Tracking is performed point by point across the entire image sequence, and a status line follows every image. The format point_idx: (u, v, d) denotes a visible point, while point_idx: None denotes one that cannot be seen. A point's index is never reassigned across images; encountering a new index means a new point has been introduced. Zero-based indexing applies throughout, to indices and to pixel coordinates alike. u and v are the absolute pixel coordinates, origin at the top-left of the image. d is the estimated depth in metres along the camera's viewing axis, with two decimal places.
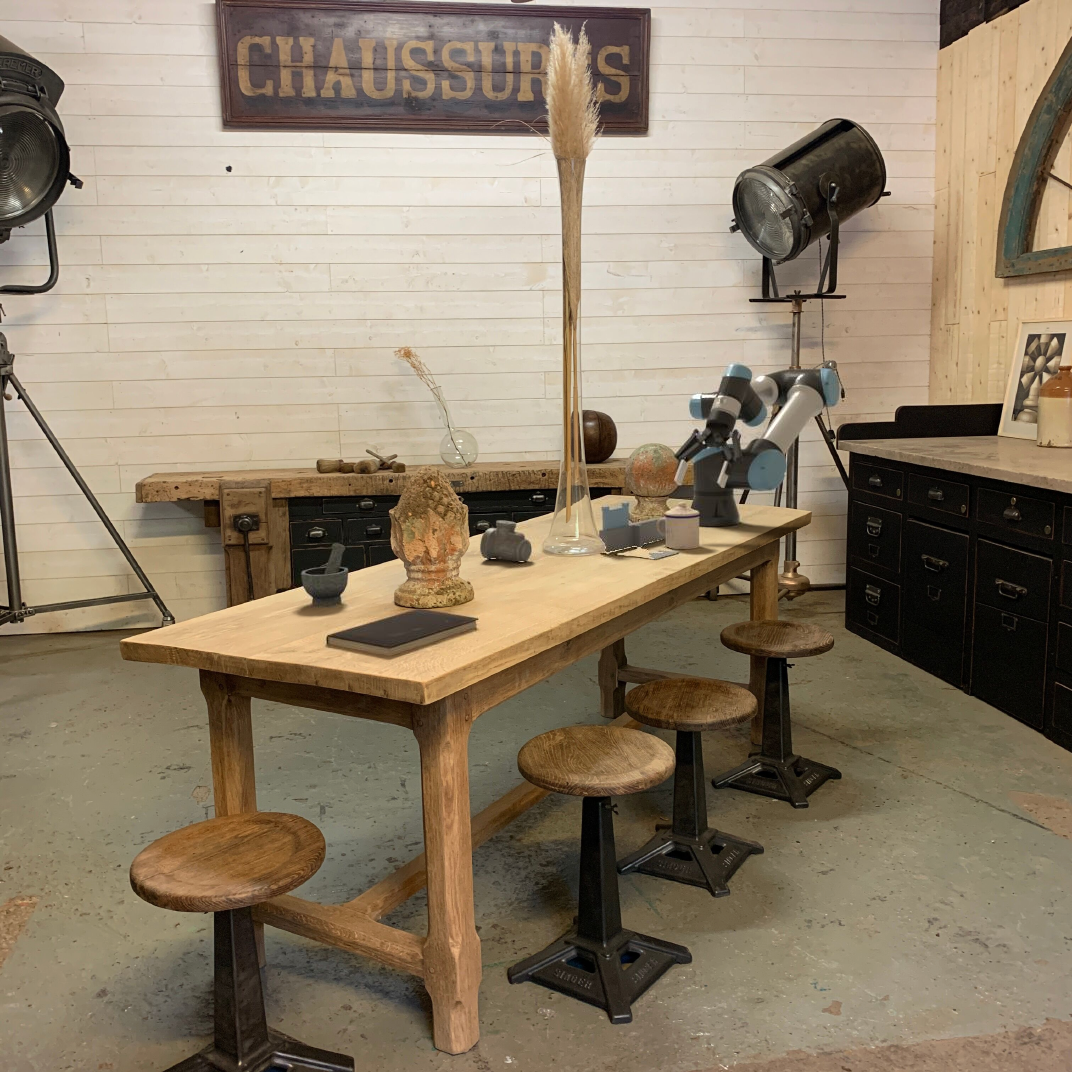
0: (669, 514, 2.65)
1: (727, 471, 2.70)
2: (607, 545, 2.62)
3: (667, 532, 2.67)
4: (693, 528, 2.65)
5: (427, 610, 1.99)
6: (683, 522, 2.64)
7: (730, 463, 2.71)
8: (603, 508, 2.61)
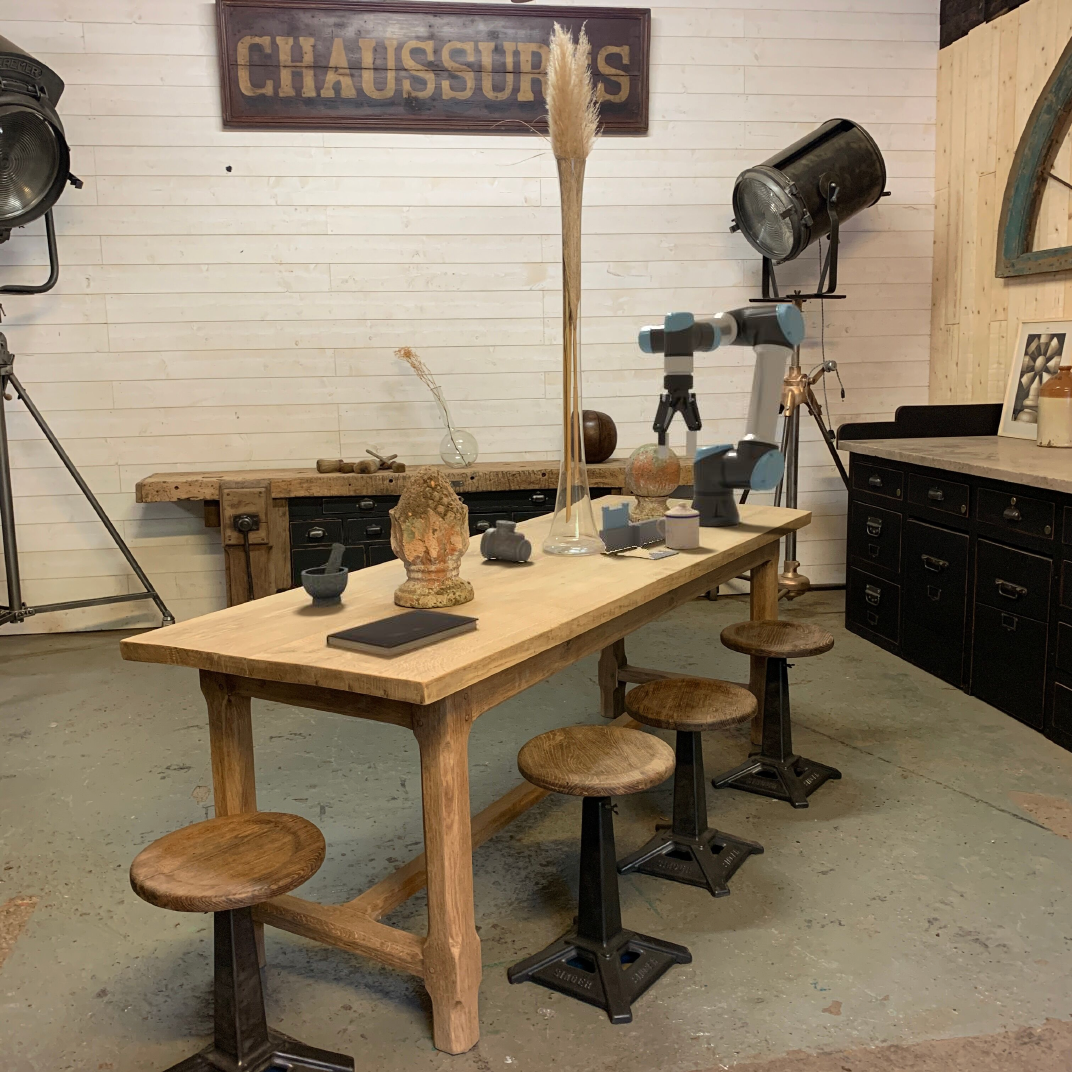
0: (669, 514, 2.65)
1: None
2: (607, 545, 2.62)
3: (667, 532, 2.67)
4: (693, 528, 2.65)
5: (427, 610, 1.99)
6: (683, 522, 2.64)
7: None
8: (603, 508, 2.61)
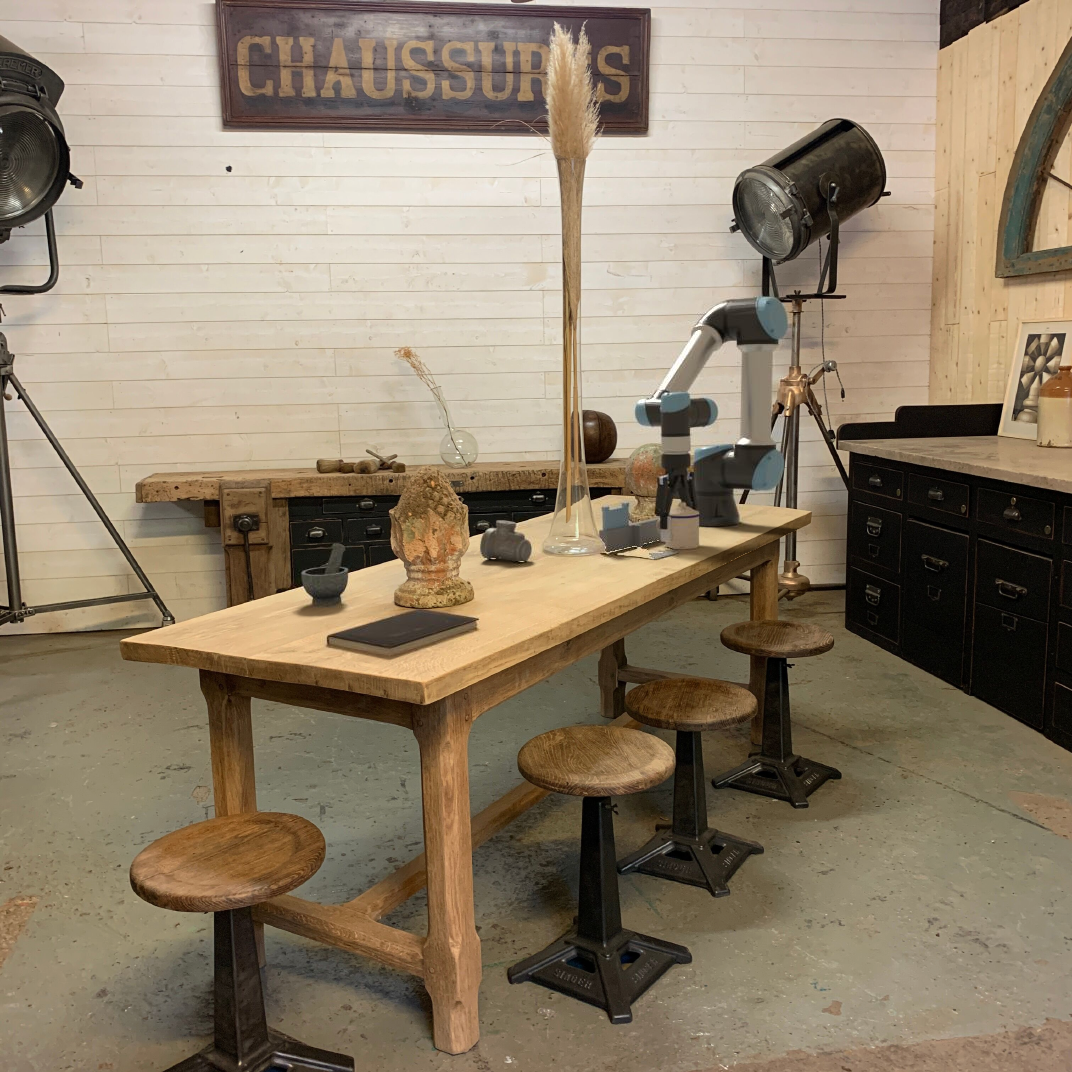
0: (669, 514, 2.65)
1: None
2: (607, 545, 2.62)
3: None
4: (693, 528, 2.65)
5: (428, 610, 1.99)
6: (683, 522, 2.64)
7: None
8: (603, 508, 2.61)
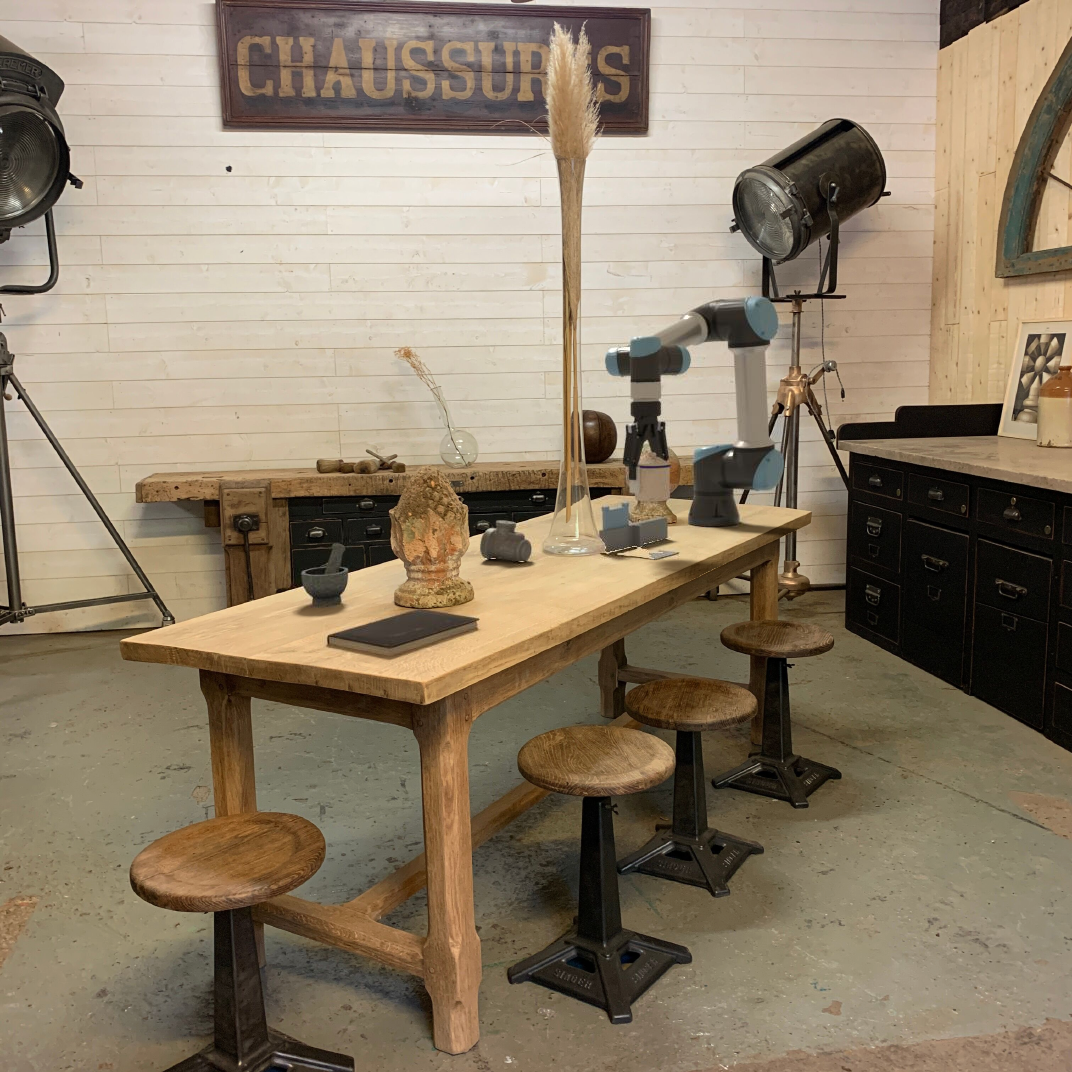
0: (638, 464, 2.53)
1: None
2: (607, 545, 2.62)
3: None
4: (663, 479, 2.53)
5: (428, 610, 1.99)
6: (652, 472, 2.52)
7: None
8: (603, 508, 2.61)
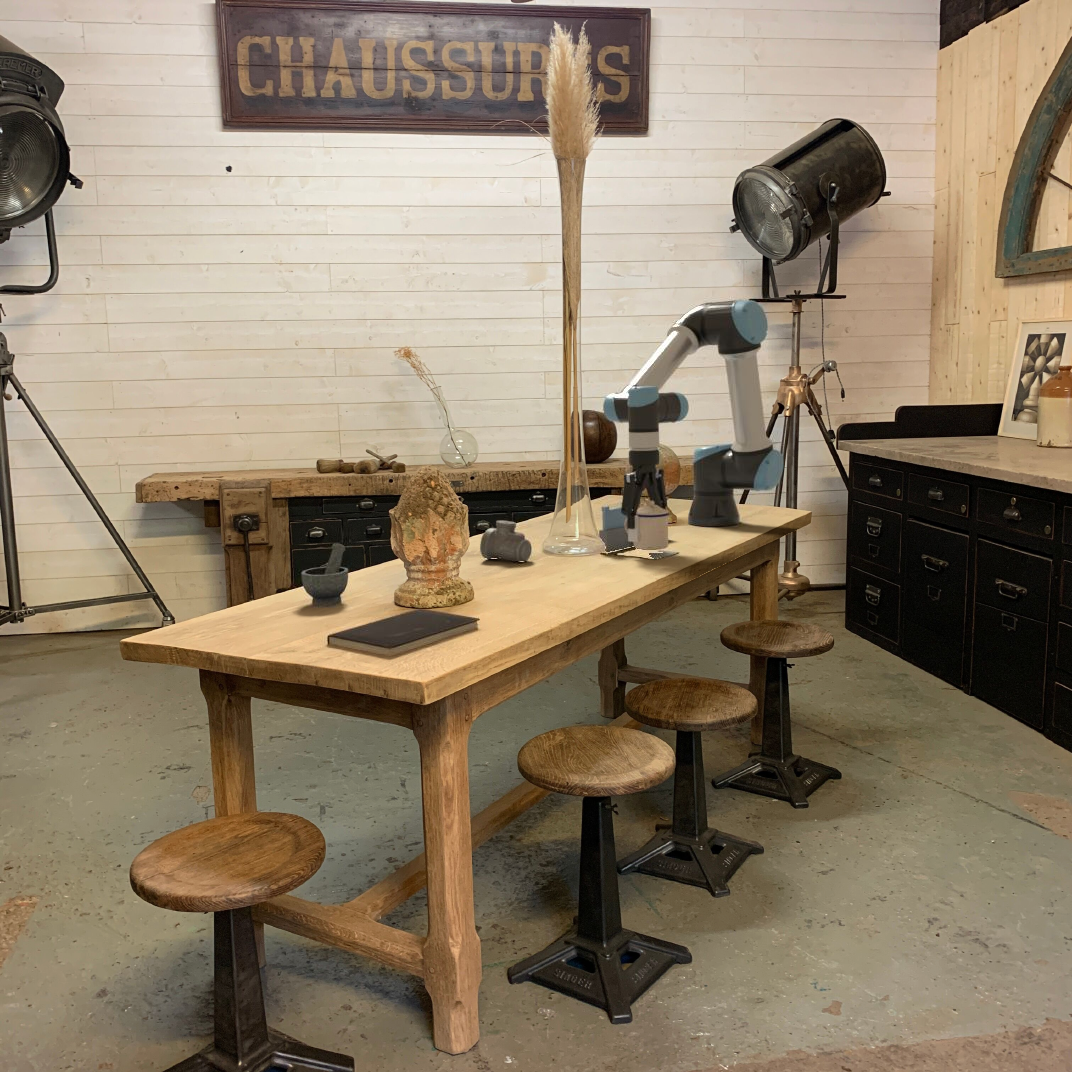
0: (636, 513, 2.55)
1: None
2: (607, 545, 2.62)
3: None
4: (662, 528, 2.54)
5: (428, 610, 1.99)
6: (651, 521, 2.53)
7: None
8: (603, 508, 2.61)
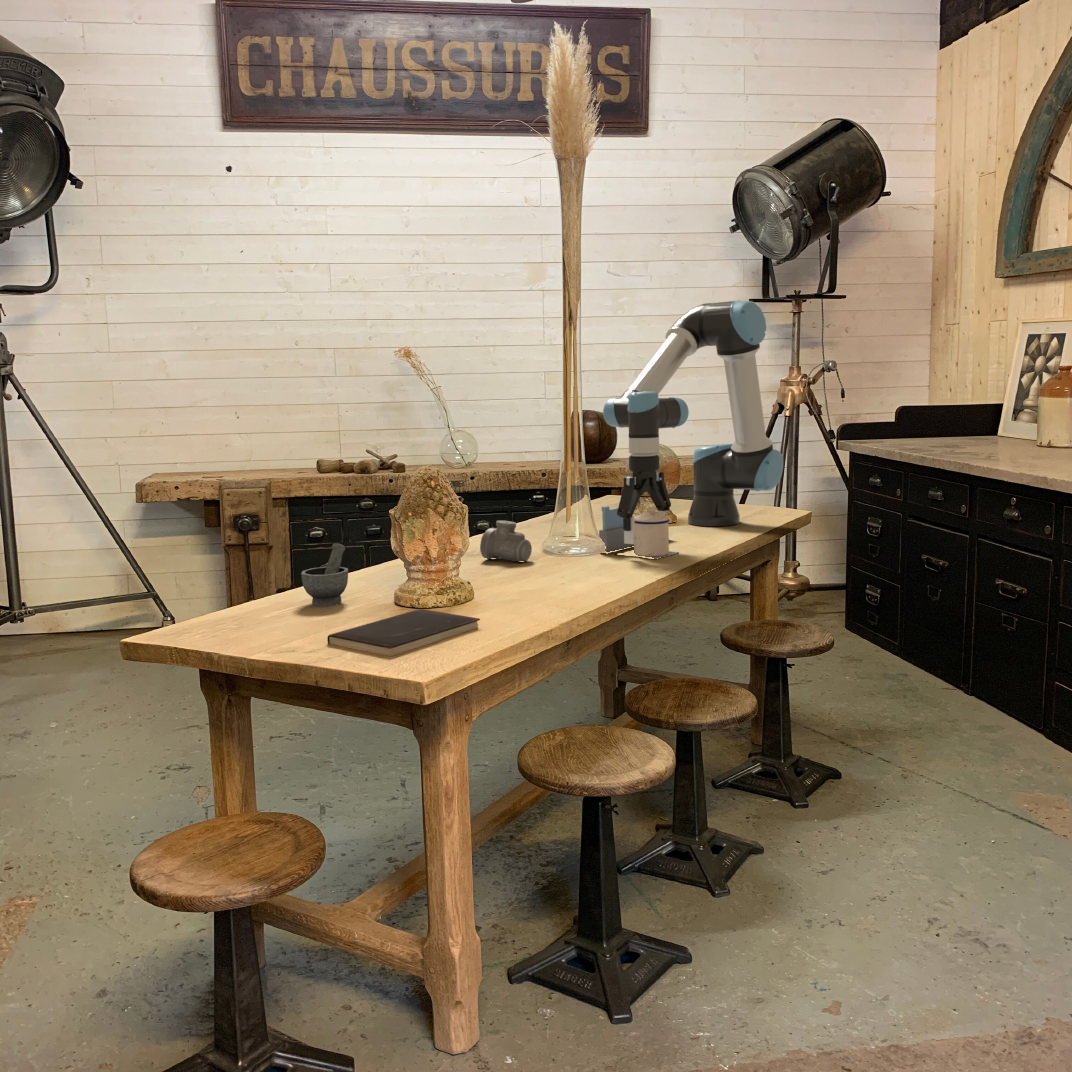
0: (637, 520, 2.55)
1: None
2: (607, 545, 2.62)
3: (635, 538, 2.57)
4: (662, 535, 2.54)
5: (429, 610, 1.99)
6: (651, 528, 2.54)
7: None
8: (603, 508, 2.61)
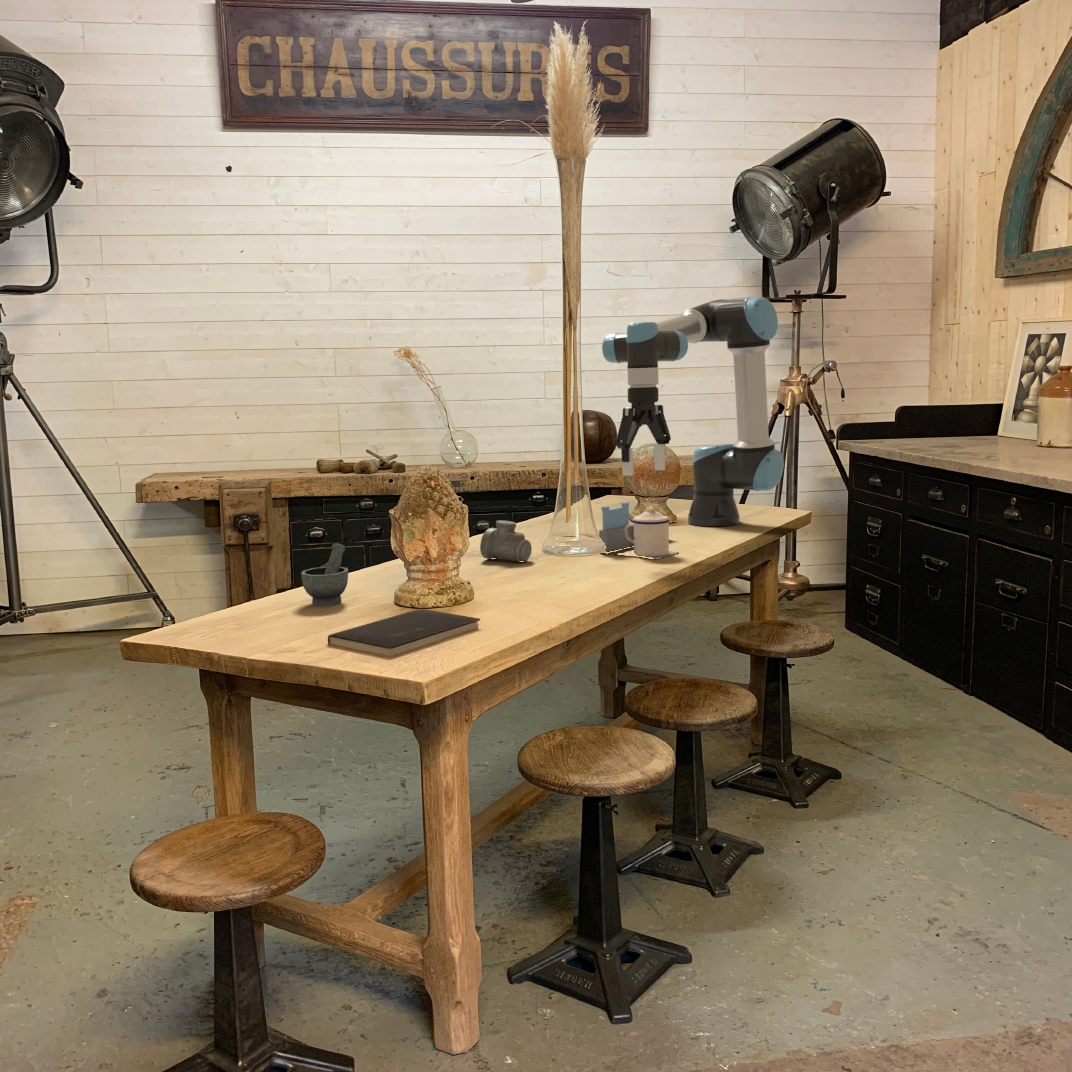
0: (637, 520, 2.55)
1: None
2: (607, 545, 2.62)
3: (635, 538, 2.57)
4: (662, 535, 2.54)
5: (429, 610, 1.99)
6: (651, 528, 2.53)
7: None
8: (603, 508, 2.61)
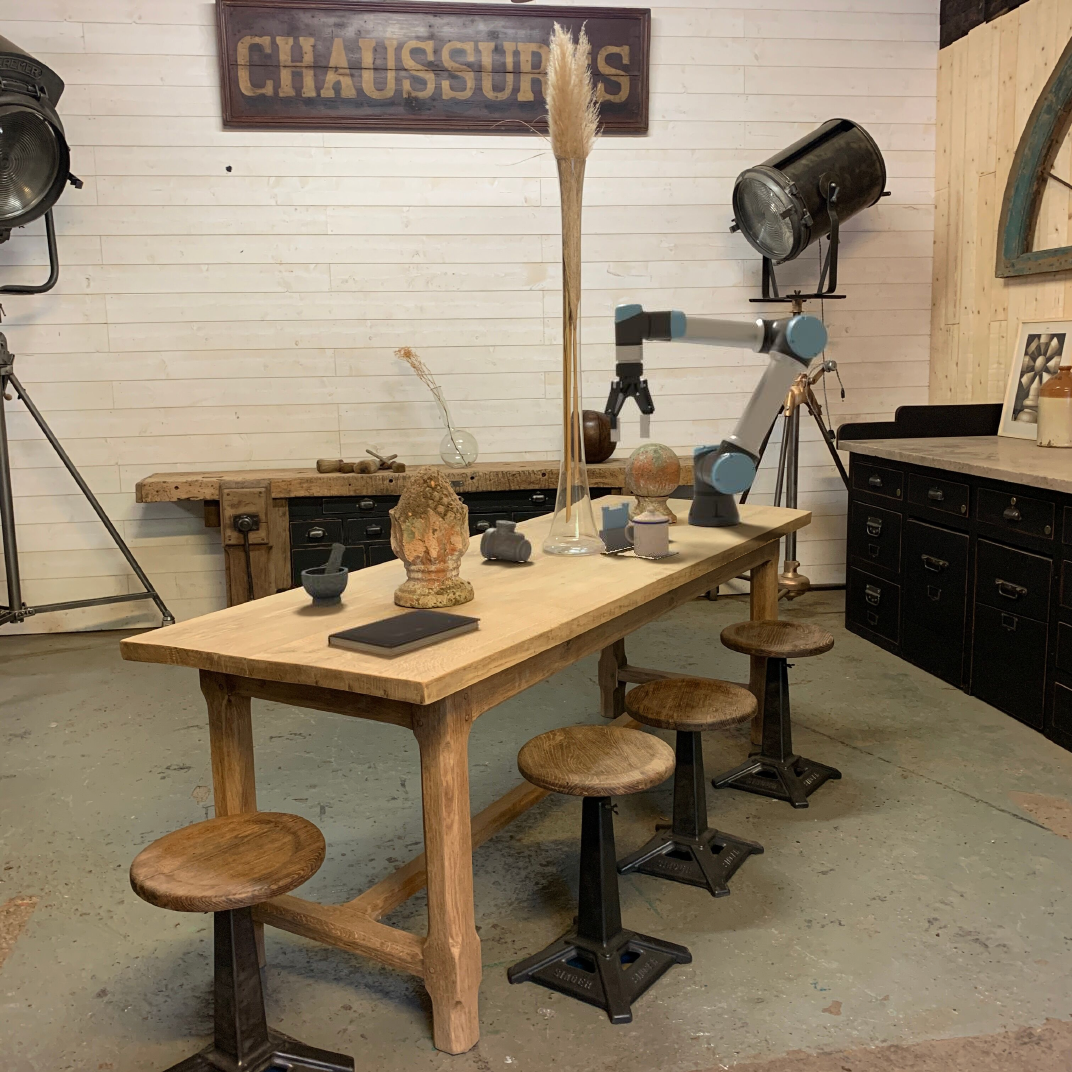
0: (637, 520, 2.55)
1: None
2: (607, 545, 2.62)
3: (635, 538, 2.57)
4: (662, 535, 2.54)
5: (429, 610, 1.99)
6: (651, 528, 2.53)
7: None
8: (603, 508, 2.61)
